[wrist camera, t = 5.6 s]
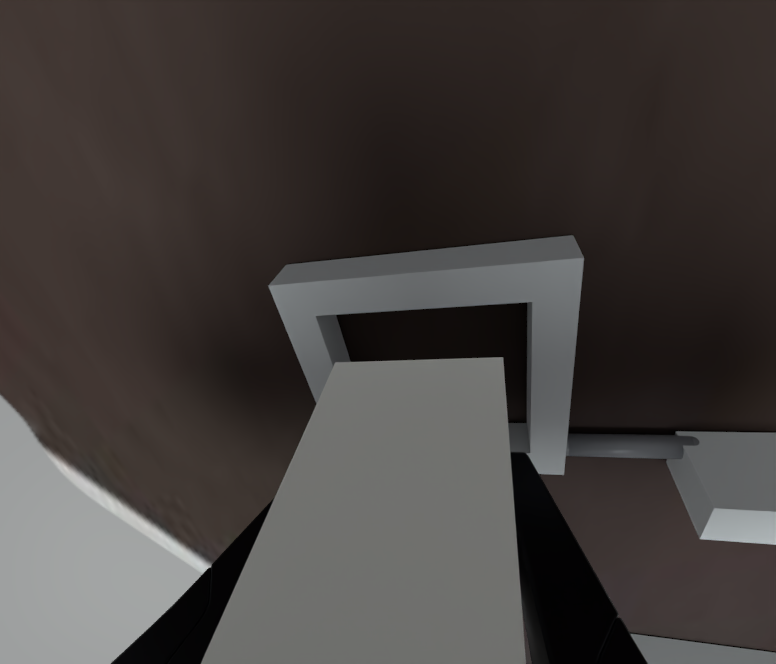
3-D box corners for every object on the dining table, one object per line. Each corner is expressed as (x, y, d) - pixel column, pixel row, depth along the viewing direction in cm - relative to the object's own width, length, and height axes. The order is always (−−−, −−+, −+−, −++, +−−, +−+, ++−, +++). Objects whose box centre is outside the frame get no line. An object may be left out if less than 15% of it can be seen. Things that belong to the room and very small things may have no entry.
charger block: (507, 468, 11) (537, 928, 5) (369, 463, 12) (271, 844, 6) (503, 357, 9) (546, 939, 3) (335, 362, 10) (136, 808, 4)
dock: (882, 679, 19) (952, 792, 16) (541, 632, 22) (550, 716, 20) (1256, 437, 9) (1597, 613, 6) (554, 428, 13) (574, 534, 10)
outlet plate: (558, 443, 13) (563, 474, 12) (350, 439, 15) (341, 465, 14) (573, 234, 9) (583, 257, 8) (286, 264, 11) (268, 285, 10)
